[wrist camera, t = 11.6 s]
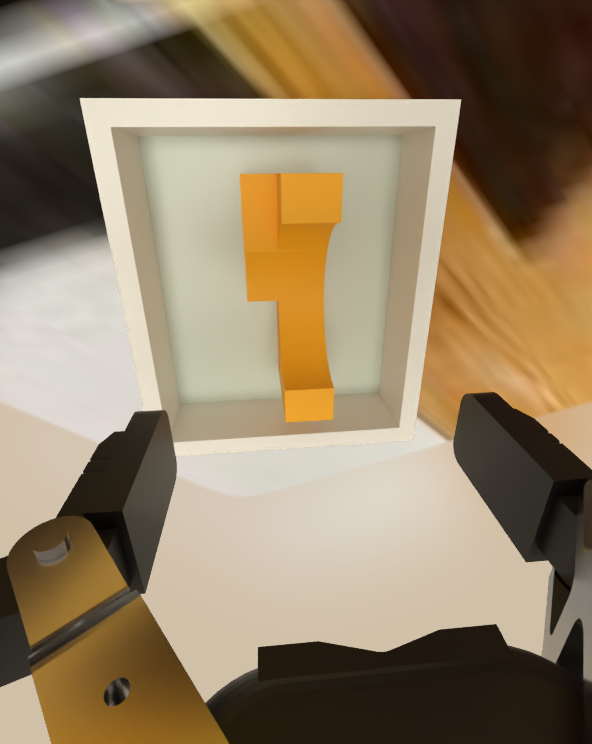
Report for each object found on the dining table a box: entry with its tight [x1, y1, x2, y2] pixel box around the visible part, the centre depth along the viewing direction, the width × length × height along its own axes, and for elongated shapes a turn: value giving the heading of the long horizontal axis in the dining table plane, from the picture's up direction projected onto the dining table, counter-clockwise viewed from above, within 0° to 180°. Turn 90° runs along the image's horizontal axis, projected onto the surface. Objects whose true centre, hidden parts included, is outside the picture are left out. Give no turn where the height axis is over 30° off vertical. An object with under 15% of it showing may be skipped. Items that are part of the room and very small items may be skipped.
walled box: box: [80, 98, 461, 456], centre depth 23 cm, size 16×18×6 cm
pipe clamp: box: [240, 173, 343, 422], centre depth 22 cm, size 12×4×6 cm, turn 0°
